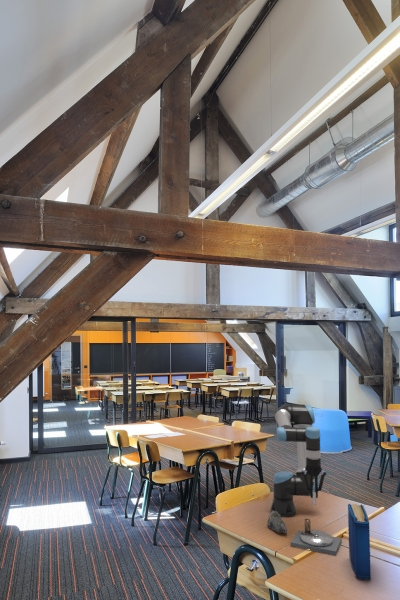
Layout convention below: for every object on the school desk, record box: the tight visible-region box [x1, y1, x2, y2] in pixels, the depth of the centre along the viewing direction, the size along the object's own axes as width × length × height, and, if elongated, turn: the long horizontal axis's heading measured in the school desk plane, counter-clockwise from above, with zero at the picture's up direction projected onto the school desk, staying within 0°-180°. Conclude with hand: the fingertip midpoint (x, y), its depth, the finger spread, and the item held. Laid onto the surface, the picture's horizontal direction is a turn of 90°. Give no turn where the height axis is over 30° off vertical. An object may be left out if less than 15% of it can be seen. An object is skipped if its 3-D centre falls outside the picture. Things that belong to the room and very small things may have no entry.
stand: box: [290, 530, 343, 557], centre depth 222 cm, size 17×22×2 cm
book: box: [347, 503, 372, 580], centre depth 198 cm, size 22×7×25 cm, turn 168°
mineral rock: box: [266, 511, 288, 534], centre depth 239 cm, size 13×11×10 cm
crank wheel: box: [300, 518, 334, 547], centre depth 223 cm, size 16×16×8 cm
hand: (314, 504), depth 230 cm, fingers closed
